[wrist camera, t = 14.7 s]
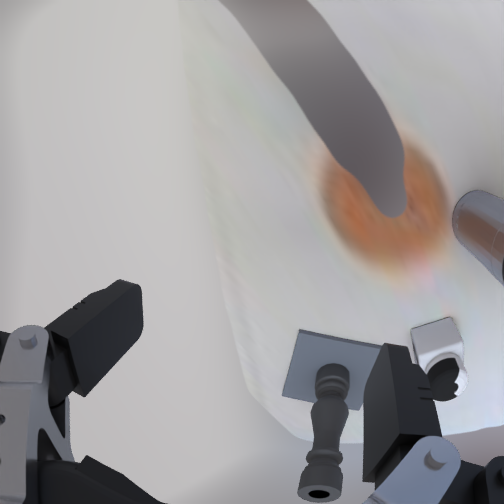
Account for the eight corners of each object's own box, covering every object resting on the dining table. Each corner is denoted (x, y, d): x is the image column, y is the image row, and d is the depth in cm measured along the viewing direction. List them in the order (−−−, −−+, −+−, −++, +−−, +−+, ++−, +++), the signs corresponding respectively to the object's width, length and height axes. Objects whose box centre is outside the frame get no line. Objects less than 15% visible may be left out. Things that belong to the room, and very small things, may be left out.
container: (415, 361, 50) (426, 412, 38) (410, 328, 48) (424, 378, 36) (453, 349, 47) (472, 398, 36) (451, 315, 46) (474, 362, 34)
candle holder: (340, 391, 55) (329, 506, 32) (310, 381, 55) (288, 497, 33) (355, 369, 52) (352, 489, 30) (324, 358, 53) (307, 480, 30)
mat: (387, 346, 50) (388, 350, 50) (358, 407, 56) (358, 410, 55) (299, 329, 53) (298, 332, 52) (282, 392, 59) (281, 395, 58)
